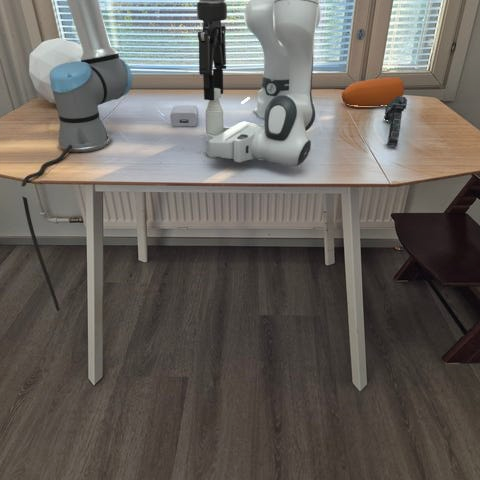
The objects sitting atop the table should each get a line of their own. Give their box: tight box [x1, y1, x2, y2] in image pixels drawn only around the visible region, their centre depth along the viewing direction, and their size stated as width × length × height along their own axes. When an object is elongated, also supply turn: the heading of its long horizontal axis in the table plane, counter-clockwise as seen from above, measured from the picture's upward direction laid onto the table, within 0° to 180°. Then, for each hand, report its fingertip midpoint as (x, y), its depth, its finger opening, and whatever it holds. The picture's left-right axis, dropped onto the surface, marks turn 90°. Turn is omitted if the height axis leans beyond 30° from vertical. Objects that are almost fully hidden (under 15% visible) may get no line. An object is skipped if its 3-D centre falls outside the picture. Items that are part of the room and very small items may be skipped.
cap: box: [214, 88, 222, 100], centre depth 114 cm, size 4×4×2 cm
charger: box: [169, 105, 199, 127], centre depth 148 cm, size 5×9×15 cm
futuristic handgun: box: [383, 95, 408, 147], centre depth 138 cm, size 4×29×15 cm, turn 164°
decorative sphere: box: [28, 37, 83, 105], centre depth 157 cm, size 24×25×25 cm
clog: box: [341, 76, 405, 109], centre depth 165 cm, size 12×11×25 cm
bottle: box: [205, 98, 224, 159], centre depth 119 cm, size 5×5×19 cm
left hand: (213, 96), depth 114 cm, fingers open, 6 cm apart
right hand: (212, 133), depth 120 cm, fingers closed on bottle, 5 cm apart
